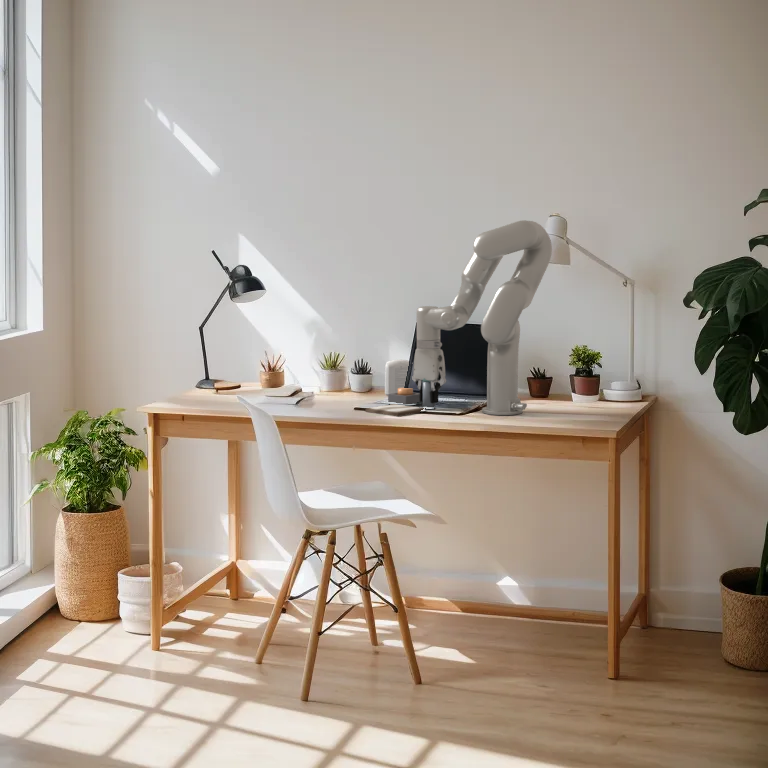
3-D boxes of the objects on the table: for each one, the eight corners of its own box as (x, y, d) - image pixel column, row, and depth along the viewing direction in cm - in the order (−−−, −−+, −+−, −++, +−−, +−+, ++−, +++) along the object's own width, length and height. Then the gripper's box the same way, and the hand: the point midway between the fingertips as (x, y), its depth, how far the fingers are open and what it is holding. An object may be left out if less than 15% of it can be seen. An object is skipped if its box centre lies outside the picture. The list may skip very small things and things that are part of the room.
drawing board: (425, 411, 314) (425, 407, 314) (397, 416, 305) (397, 412, 304) (393, 406, 324) (393, 403, 323) (365, 411, 314) (365, 407, 314)
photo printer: (410, 392, 356) (410, 358, 355) (414, 394, 352) (414, 359, 351) (383, 394, 353) (383, 359, 351) (387, 395, 349) (387, 360, 347)
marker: (438, 408, 319) (437, 374, 318) (429, 410, 316) (429, 375, 315) (428, 407, 322) (428, 373, 321) (419, 408, 319) (419, 374, 318)
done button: (415, 396, 329) (415, 388, 328) (405, 397, 325) (405, 390, 325) (404, 394, 332) (404, 387, 332) (394, 396, 328) (394, 388, 328)
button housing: (422, 404, 329) (422, 393, 328) (405, 406, 323) (405, 396, 323) (404, 401, 334) (404, 391, 334) (388, 404, 329) (388, 394, 328)
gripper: (456, 345, 313) (456, 403, 316) (417, 342, 325) (417, 398, 327) (440, 347, 308) (440, 406, 310) (401, 344, 320) (401, 401, 322)
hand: (428, 401), depth 319 cm, fingers closed on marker, 4 cm apart
